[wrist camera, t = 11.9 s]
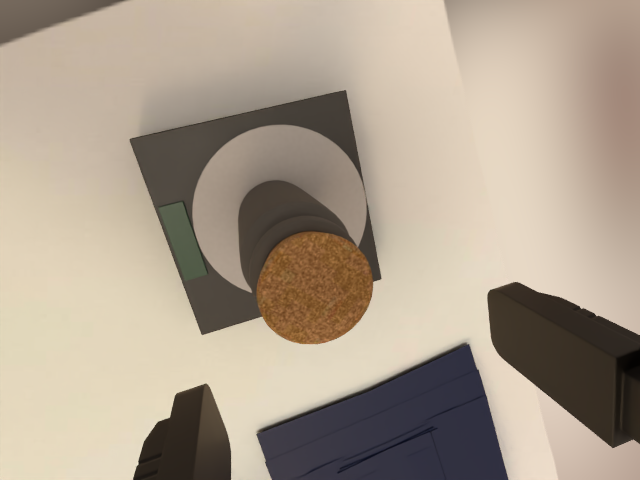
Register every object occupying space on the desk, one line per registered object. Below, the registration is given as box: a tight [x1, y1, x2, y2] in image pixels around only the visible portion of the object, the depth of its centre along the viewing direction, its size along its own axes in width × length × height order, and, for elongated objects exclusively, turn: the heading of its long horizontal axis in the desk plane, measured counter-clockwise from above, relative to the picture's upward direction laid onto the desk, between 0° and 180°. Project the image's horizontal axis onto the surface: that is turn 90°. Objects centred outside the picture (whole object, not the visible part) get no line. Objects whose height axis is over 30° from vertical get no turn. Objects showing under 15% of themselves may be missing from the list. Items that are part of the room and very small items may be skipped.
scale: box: [130, 90, 381, 335], centre depth 30 cm, size 16×16×3 cm
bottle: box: [238, 180, 373, 344], centre depth 22 cm, size 6×6×15 cm
